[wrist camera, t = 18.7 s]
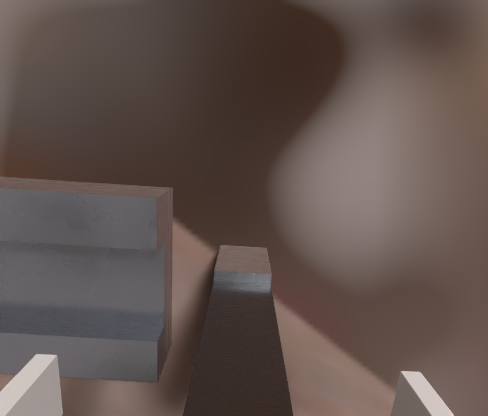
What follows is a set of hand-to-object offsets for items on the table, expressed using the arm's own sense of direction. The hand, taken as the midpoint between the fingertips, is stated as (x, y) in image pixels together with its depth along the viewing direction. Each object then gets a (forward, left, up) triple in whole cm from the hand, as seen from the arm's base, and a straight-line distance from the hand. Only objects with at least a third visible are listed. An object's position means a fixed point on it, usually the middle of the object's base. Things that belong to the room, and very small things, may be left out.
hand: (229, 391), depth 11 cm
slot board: (-13, 0, -10) cm, 16 cm away
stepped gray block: (0, 0, -10) cm, 10 cm away
